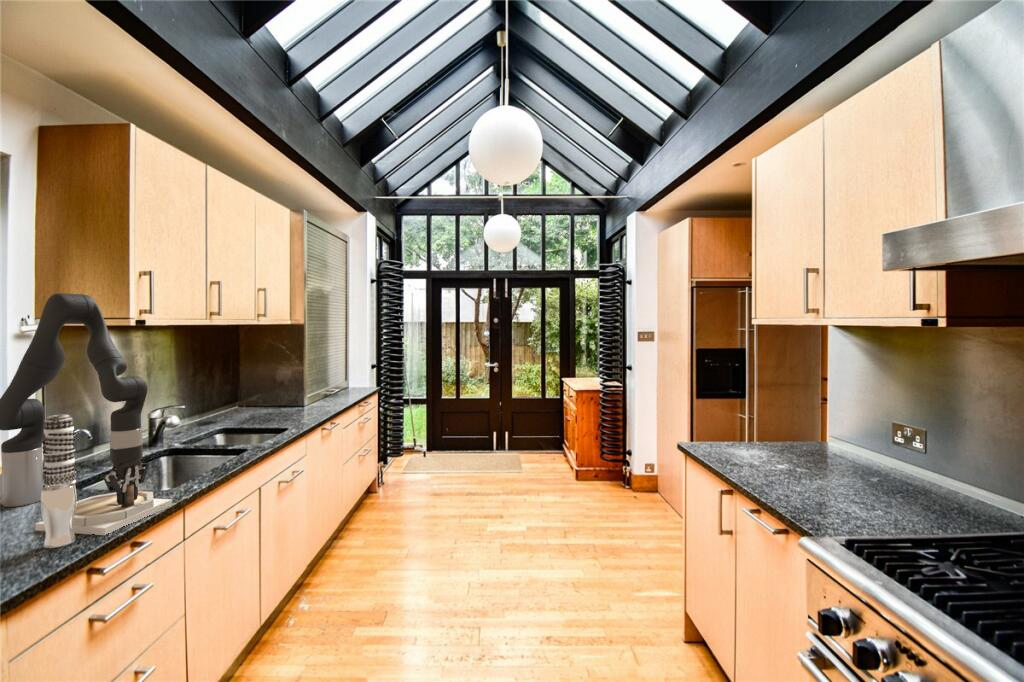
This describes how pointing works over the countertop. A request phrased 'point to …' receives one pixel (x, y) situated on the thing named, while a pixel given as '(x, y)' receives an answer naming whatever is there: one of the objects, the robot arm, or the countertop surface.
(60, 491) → the beer glass
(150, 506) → the dial housing
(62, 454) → the decorative candle
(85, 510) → the dial
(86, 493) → the countertop surface
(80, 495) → the countertop surface
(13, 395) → the robot arm
